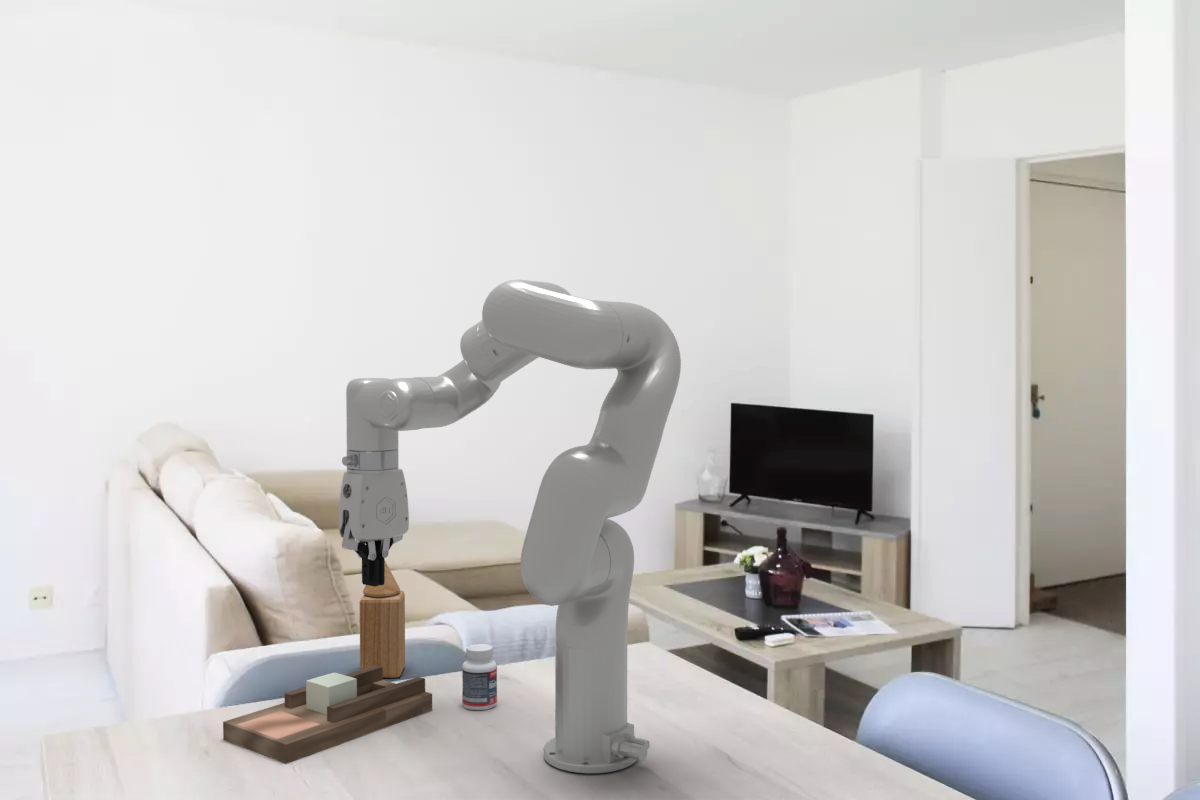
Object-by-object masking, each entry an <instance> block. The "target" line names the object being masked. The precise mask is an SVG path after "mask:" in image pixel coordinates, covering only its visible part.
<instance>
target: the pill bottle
mask: <svg viewBox="0 0 1200 800" xmlns="http://www.w3.org/2000/svg"><path fill="white" fill-rule="evenodd" d="M465 651H466V652H465V655H466V658H467V659H466V660H465V661H464V662H463V663H462V666H461V667H462V671H461V672H462V675H461V676H462V678H461V679H462V689H461V690H462V692H461V693H462V695H461V697H462V699H461V700H462V707H463V708H464V709H467V710H470V711H486V710H489V709H493V708H495V707H496V706H497V704H498V667H497V666H498V665H497V662H496V661H495V660H493V659H492V658H493V656H494V648H493V645H490V644H485V643H477V644H470V645H468V646H466V648H465Z"/></svg>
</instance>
